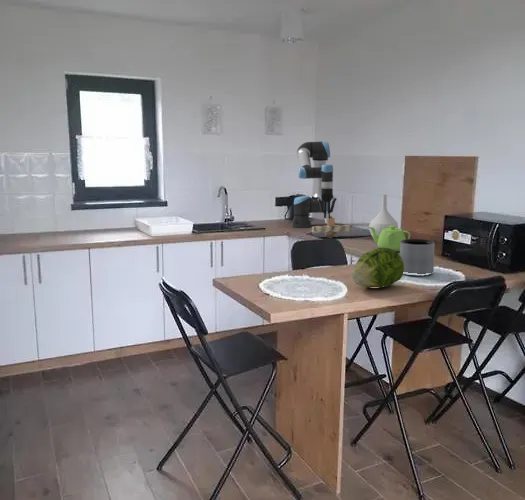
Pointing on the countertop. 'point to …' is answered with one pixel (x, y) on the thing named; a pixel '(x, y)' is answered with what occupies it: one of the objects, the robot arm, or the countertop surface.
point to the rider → (331, 222)
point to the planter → (417, 255)
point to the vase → (382, 219)
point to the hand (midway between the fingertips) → (326, 222)
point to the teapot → (390, 237)
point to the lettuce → (378, 268)
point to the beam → (331, 230)
